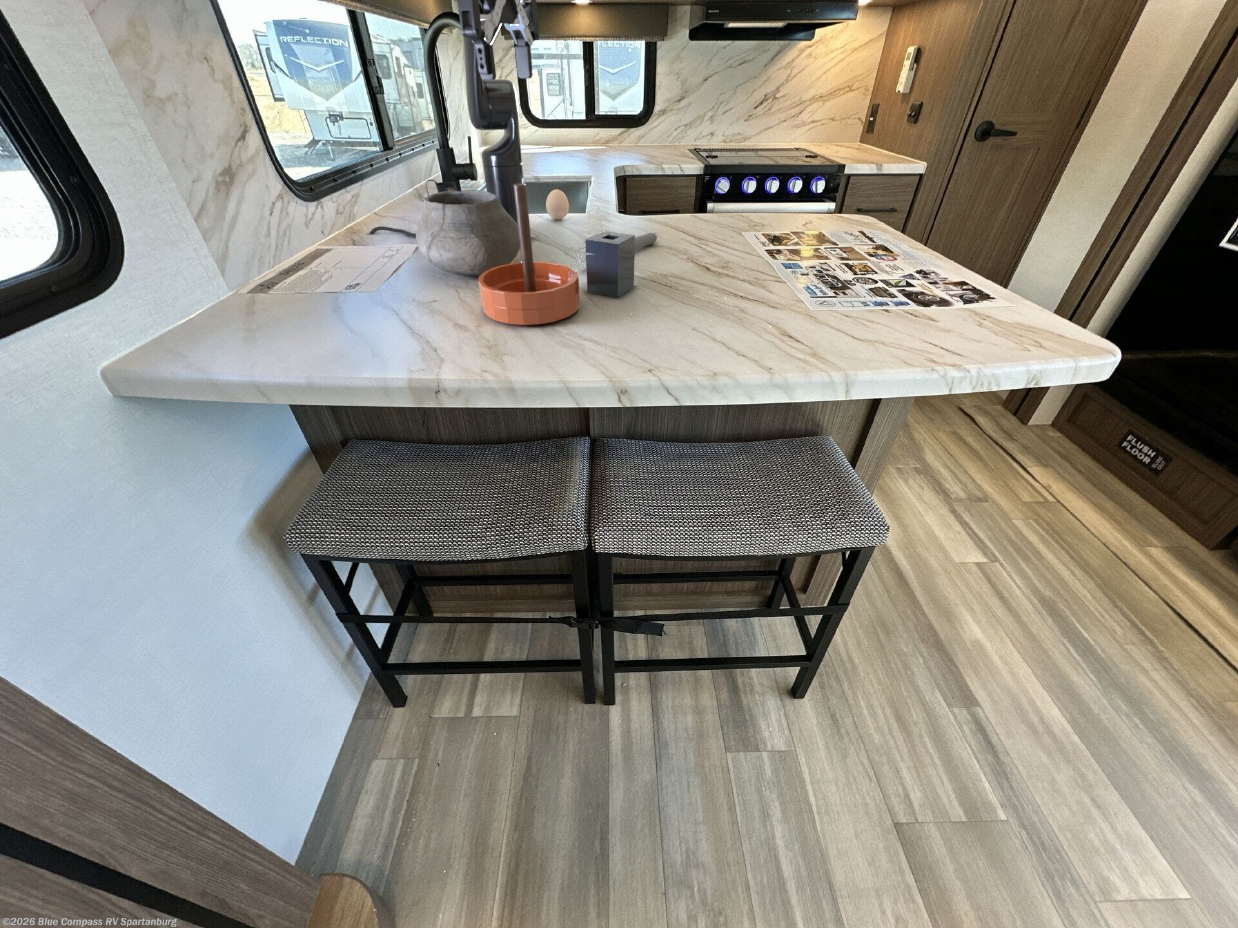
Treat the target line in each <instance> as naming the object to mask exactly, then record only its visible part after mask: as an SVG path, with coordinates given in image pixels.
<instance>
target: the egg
mask: <svg viewBox="0 0 1238 928" xmlns="http://www.w3.org/2000/svg"><path fill="white" fill-rule="evenodd" d="M545 207H546V212H547V214H548V216H550V217H551V218H552V219H553V220H555V221H561V220H563V219H564V218H565V217H566V216H567V215H568V213H569V211H570V203H569V200H568V197H567V195H566V194H565V192H564V191H562V190H560V189H553V190H551V191H550V192H549V194H548V195H547V197H546V200H545Z"/></svg>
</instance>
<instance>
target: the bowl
mask: <svg viewBox="0 0 1238 928" xmlns="http://www.w3.org/2000/svg"><path fill="white" fill-rule="evenodd" d="M533 262H534V272H535V282H536V292H525V284H524V275H523V267H522V261H518V262H511V263H510V264H505V265H501V266H497V267H494V268H492V269H489V270H487V271H485V272H484V273H483V274H481V275H479V276H478V281H477V282H478V288H479V294H480V300H481V307H482V312H483V313H484V314H485V315H486V317H488V318H489V319H492V320H493V321H495V322H500V323H504V324H509V325H519V326H520V325H521V326H528V325H529V326H530V325H531V326H532V325H544V324H548V323H549V324H550V323H554V322H558V321H561V320H563V319H567V318H569V317H570V316H572V315H574V314H575V313H577V311H578V310H579V308H580V307H581V302H580V301H581V300H580V299H581V298H580V281H579V278H580V277H579V273H578V271H577V270H576V269H574V268H573V267H571V266H569V265H566V264H562V263H557V262H551V261H539V260H538V261H536V260H533Z"/></svg>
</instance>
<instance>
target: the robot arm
mask: <svg viewBox="0 0 1238 928" xmlns="http://www.w3.org/2000/svg"><path fill="white" fill-rule="evenodd" d="M537 5H538V4H537V0H457V9H458V19H459V24H460V25H459V26H460V33H461V35H462V41H463V54H464V55H463V56H464V71H465V72H464V73H465V75H464V76H465V92H466V93H465V94H466V104H467V113H468V117H469V120H470V122H471V125H472V126H473V128H474V129H476V130H479V131H503V135H502V137H501V138H500V139H499V140H498V141H496V142H495V143H494V144H492V145H490V146H488V147H485V148H484V149H483V150H482V151H481V160H482V168H483V173H484V181H485V188H486V192H489V193H492V194H494V195H496V196H497V197H498V199H499V201H500V203H501V205H502V207H503V208H504V209H505V211H506V212H507V213H508V214H509V215H510V216H511V217H512V218H513V219H514V221H515V222H516V223H517V214H516V205H515V196H514V188H513V184H517V183H523V184H525V178H524V167H523V158H522V146H521V135H520V134H521V133H520V118H519V117H520V116H519V103H518V95H517V91H516V88H515V86H514V83H513V82H512V81H511V80H509V79H502V78H501V79H499V78H498V79H497V69H496V63H495V55H494V46H493V42H494V40H495V38H496V36H497V34H498V32H499V30H500V28H501V26H502V25H504V27H505V29H506V30H507V31H508V32H510V33H509V34H510V35H511V37H512V40H513V42H514V44H515V45H516V46H514V52H515V53H514V54H515V62H516V72H517V77H518V78H519V79H532V77H533V59H532V46H533V44H534V42H535V41H539V40H540V29H539V28H540V25H539V17H538V15H539V14H538V6H537ZM529 20H530V24H531V25H530V27H531V29H529V26H528V24H529ZM519 31H520V32H519ZM517 225H518V223H517ZM378 231H387V232H388V231H389V232H392V233H398V234H404V235H406V236H408V237H412V238H416V233H413V232H410V231H407V230H405V229H400V228H394V227H390V226H384V225H383V226H375V227H374V228H372V229H371V230H370V231H369V235H374V234H375V233H376V232H378ZM530 232H532V231H531V229H530Z"/></svg>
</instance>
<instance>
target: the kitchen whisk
mask: <svg viewBox="0 0 1238 928" xmlns="http://www.w3.org/2000/svg"><path fill="white" fill-rule="evenodd" d="M658 237H659V235H658V232H656V231H655V232H648V233H645V234H641V235H637V236H635V250H638V249H642V248H645V247H647V246H651V245H653V244H655V243H656V242H657V239H658ZM584 244H586V243H585V242H582V244H580V246H579V248H578V249H576V250H575V251H574V252H573V255H574V257H575V259H577V261H574V262H573V263H574V264H576V263H578V269H579V270H580V271H581V272H587V270H586V268H584V266H583V265H586V262H583V261H586V257H585V258H583V256H584V255H585V254H586V246H584V247H582V246H583V245H584ZM582 249H585V250H584V251H583V253H581V256H580V250H582ZM577 251H578V253H577ZM576 253H577V255H578V256H580V257H577V256H576ZM580 265H581V268H583V269H581V268H580Z"/></svg>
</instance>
